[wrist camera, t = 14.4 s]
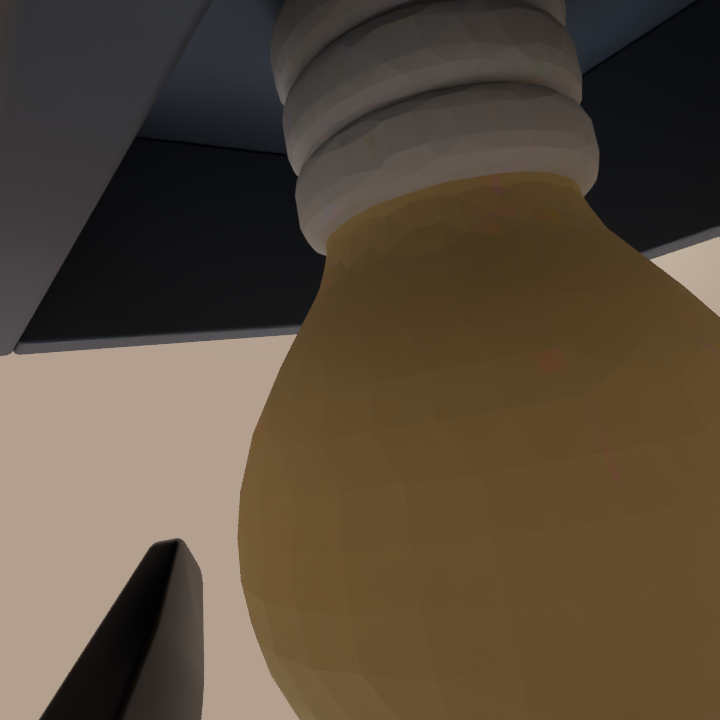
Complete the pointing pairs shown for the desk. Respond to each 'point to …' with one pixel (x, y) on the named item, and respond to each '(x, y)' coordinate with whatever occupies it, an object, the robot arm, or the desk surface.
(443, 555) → the light bulb
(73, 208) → the bin
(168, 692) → the robot arm
